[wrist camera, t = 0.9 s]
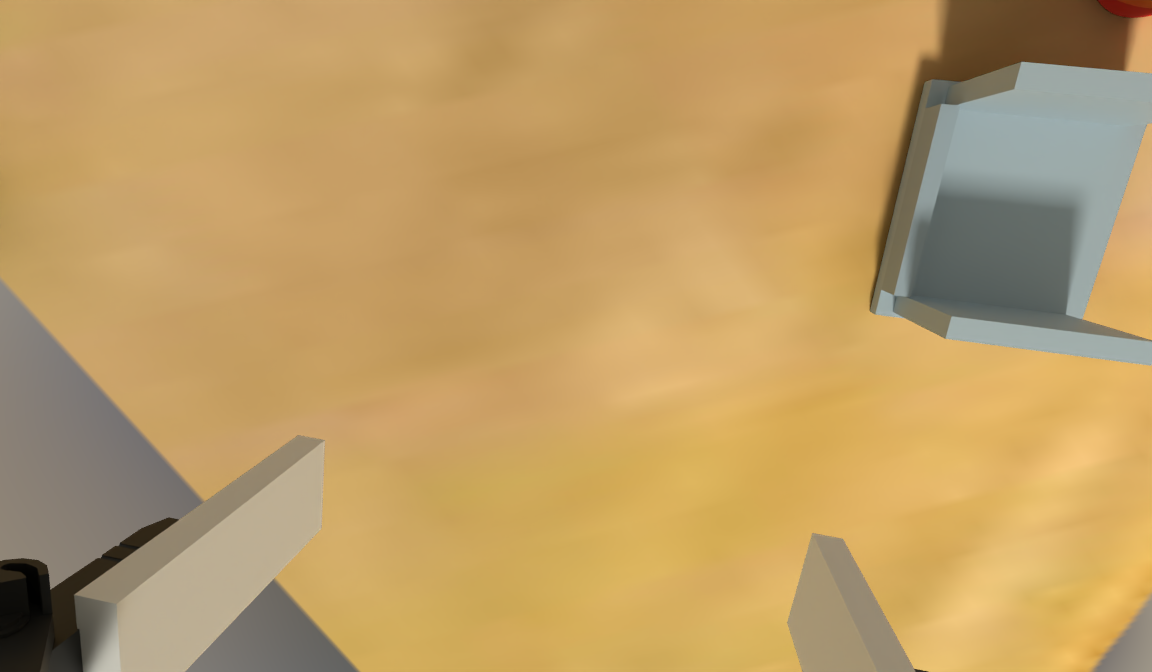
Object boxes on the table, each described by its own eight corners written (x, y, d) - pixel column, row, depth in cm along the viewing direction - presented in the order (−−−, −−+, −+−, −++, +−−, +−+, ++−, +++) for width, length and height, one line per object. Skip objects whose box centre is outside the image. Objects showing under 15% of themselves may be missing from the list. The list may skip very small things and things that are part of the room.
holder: (924, 82, 36) (1001, 52, 28) (1140, 102, 35) (1282, 78, 27) (869, 311, 39) (924, 341, 31) (1064, 336, 38) (1170, 373, 30)
